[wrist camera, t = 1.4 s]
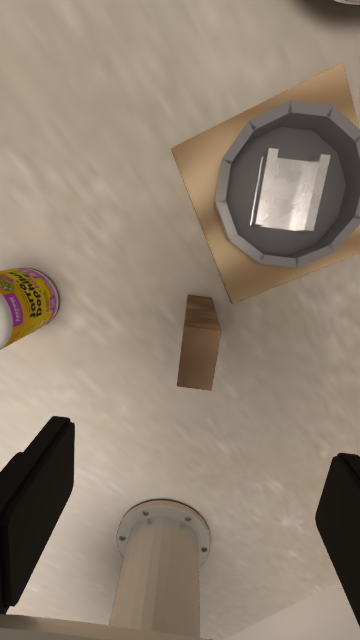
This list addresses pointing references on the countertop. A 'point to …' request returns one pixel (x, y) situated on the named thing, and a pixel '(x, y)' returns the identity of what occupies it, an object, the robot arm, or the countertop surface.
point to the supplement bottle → (24, 303)
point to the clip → (288, 192)
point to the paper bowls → (349, 2)
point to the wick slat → (199, 344)
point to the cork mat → (201, 179)
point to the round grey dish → (297, 144)
